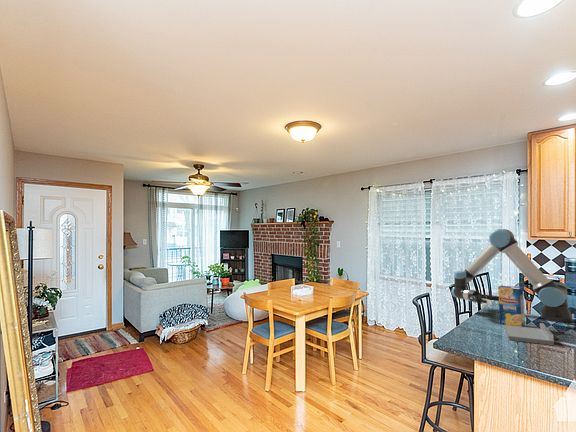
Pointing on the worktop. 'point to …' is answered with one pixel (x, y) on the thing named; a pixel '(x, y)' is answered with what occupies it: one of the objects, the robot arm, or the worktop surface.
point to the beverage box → (511, 306)
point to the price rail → (546, 332)
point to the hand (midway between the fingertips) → (500, 302)
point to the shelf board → (527, 335)
